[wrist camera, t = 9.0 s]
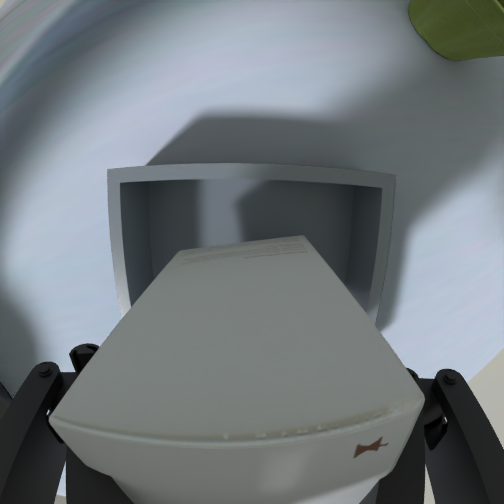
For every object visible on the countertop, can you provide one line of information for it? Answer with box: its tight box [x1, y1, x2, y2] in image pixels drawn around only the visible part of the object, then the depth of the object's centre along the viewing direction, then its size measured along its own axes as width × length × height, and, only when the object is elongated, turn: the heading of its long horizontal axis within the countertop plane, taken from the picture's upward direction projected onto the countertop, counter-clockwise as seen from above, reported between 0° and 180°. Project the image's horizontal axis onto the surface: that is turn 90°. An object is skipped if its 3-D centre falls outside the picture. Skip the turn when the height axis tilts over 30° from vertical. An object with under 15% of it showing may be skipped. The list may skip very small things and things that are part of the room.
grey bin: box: [107, 163, 395, 325], centre depth 18 cm, size 16×16×5 cm
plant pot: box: [408, 0, 504, 61], centre depth 9 cm, size 12×12×11 cm
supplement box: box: [49, 235, 425, 504], centre depth 10 cm, size 7×7×13 cm
